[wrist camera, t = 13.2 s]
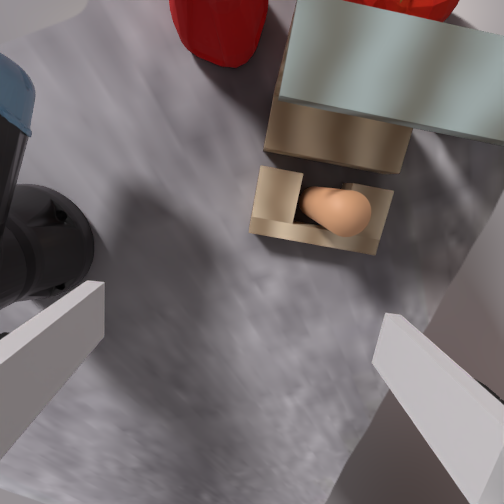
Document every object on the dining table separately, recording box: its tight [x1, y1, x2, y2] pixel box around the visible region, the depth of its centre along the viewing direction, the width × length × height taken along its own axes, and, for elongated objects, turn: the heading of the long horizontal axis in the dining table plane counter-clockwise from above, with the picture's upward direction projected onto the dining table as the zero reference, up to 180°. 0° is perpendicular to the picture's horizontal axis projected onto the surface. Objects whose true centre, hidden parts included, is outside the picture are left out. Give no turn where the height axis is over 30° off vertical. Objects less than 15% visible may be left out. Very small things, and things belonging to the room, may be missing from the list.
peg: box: [299, 186, 371, 237], centre depth 32 cm, size 4×4×14 cm
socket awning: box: [249, 0, 504, 255], centre depth 28 cm, size 16×17×19 cm
